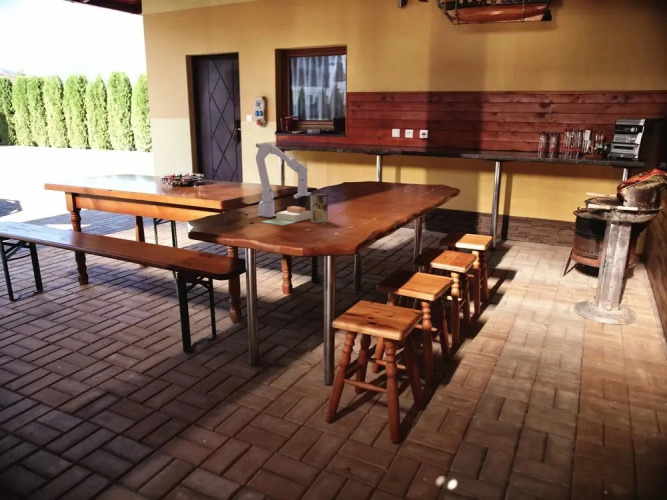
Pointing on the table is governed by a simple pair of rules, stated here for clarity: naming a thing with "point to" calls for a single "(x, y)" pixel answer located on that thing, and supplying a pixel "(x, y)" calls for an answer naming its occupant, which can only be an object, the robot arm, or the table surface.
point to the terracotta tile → (295, 209)
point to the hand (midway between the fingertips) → (302, 208)
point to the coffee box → (318, 208)
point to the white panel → (293, 216)
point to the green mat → (279, 222)
